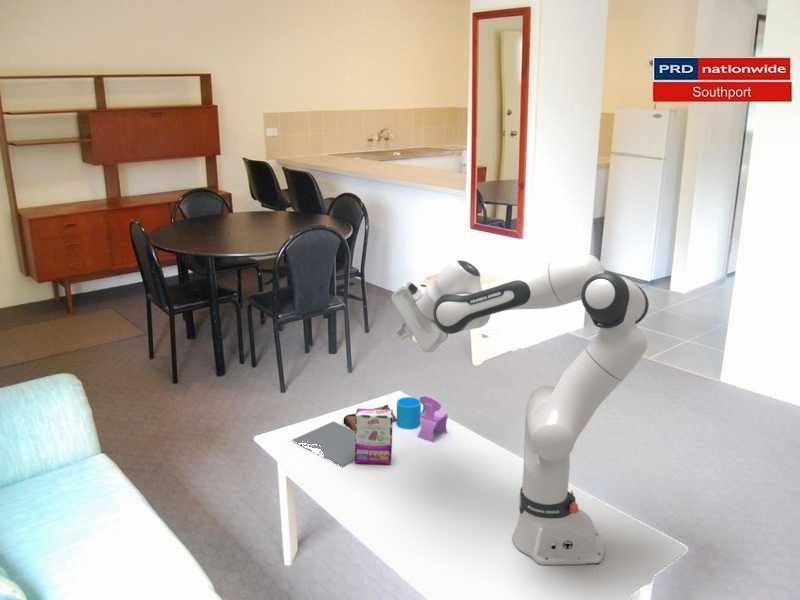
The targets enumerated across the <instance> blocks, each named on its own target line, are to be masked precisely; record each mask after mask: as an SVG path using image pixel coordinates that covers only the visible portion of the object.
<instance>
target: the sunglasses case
mask: <svg viewBox="0 0 800 600" xmlns="http://www.w3.org/2000/svg"><path fill="white" fill-rule="evenodd" d="M373 409H382V410H391V409H390V406H389V405H388V404H385V405H383V406H379V407H376V408H373ZM355 419H356V413H350V414H346V415H345V416H344V418H343V420H342V421H343V422H342V423H343V425H344V424H345V425H344V426H345V427H346V428H348V427H349V429H351V430H353V431H355ZM395 422H396V423H397V416H395V415H394V413H393V423H395Z"/></svg>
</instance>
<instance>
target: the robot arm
mask: <svg viewBox="0 0 800 600" xmlns="http://www.w3.org/2000/svg"><path fill="white" fill-rule="evenodd" d="M604 269H605V268H604V265H602V263H601V261H600V260H599V259H598V258H597V257H596V256H594V255H592V254H588V253H587V254H585V253H584V254H577V255H571V256H566V257H562V258H558V259H556V260H552V261H549V262H545V263H543V264H542V265H540V266H537V267H535V268H533V269H531V270H528V271H527V272H525V273H523V274H521V275H519V276H516V277H515V278H513V279H511V280H508V281H506V282H504V283H502V284H499V285H497V286H494V287H490V288H486V289H484V290H483V288H482V283H481V273H480V271H479V270H478V268H477V267H476V266H474V265H473V264H472V263H470V262H468V261H465V260H455V261H453V262H452V263H450V264H449V265H448V266H447V267H445V268H444V269H443V270H442V271H441V272H440V273H439V274H438V275H437V276H436V277H435V280H434V281H433V282H431V283H430V284H427V283H426V282H425V281H421V280H416V279H415V280H409V281H407V283H406V285H401V286H399V288H397V289H396V290H395V291H394V292H393V293H392V295H391V299H390V300H391V302H392V303H393V305H394V306H395V308H396V310H397V311H398V313H399V314H400V317H402V319H401V321H400V323H399V327H398V329H396V331H395V332H396V333H397V335H398V336H399V338H400V340H405V339H407V337H410V336H413V337H414V339H415V340H416V342H417V344H418V346H420V348H421V350H422V351H423V353H426V354H427V353H431V354H432V353H434V352H435V351H436V350H438V349H439V347H440V346H441V344H442V343H444V342H445V341H446V340H447V339H448V338H449V334H450V335H451V334H452V335H453V334H457V333H460V332H463V331H469V330H474V329H479V328H482V327H484V326H486V325H487V324H488V322H489V321H490V317H491V315H493V314H494V315H495V314H498V313H500V312H501V313H502V312H507V311H511V310H512V311H513V310H540V309H541V310H542V309H543V310H544V309H550V308H551V309H552V308H557V307H560V306H565V305H568V304H572V303H574V302H578V301H581V303H582V305H583V307H584V309H585V311H586V312H587V313H588V315H589V317H590V319H591V321H592V323H593V325H594V326H595V327H596V328H599V331H598V333H597V335H596V336H595V337H594V339H593V340H592V341H590V343H589V344H587V345H586V347H585V348H584V349H583V350H582V351H581V352H580V354H579V355H578V356H576V358H575V359H574V360H573V361H572V362H571V363H570V364H569V365H568V367H566V369H564V371H563V373H562V375H561V377H560V379H559V381H558V382H557V384H556V386H553V385H541V386H539V387H537V388H535V389H534V390H533V391H532V392H531V393H530V396H529V397H528V400H527V403H526V405H525V416H524V420H525V421H524V442H523V443H524V445H523V470H522V471H523V473H522V485H521V487H520V491H519V495H518V496H519V497H518V499H519V500H518V508H519V514H518V518H517V521H516V522H517V523H516V526H515V528H514V532H513V534H512V542H513V544H514V545H515V547H516V548H517V549H518V550H519V551H520V552H522V553H524V554H525V555H527V556H529V557H530V558H532V559H533V560H534V561H535V562H536V563H537V564H538V565H541V566H546V565H547V566H548V565H549V566H552V565H554V566H555V565H557V566H558V565H562V566H563V564H564V565H592V564H591V563H599V562H600V563H601V562H602V561H603V560H604V557H605V544H604V540H603V539H604V538H603V537H602V536H601V535H602V534H600V532H599V531H598V530H597V529H596V528H595V525H594V521H593V520H592V518H591V517H590V515H589V514H588V513H586V512H585V511H583V510H582V509H581V508H579V504H578V503H576V497H575V494H574V492H573V490H570V491H569V480H570V471H571V470H570V468H571V465H570V464H571V463H570V461H571V460H570V457H571V455H570V454H571V453H572V452H573V450H574V447H575V445H576V442H577V440H578V439H579V437H580V435H581V434H582V432H583V431H584V430H585V428H586V426H587V425H588V423H589V422H590V421H591V418H592V417H593V416H594V414H595V413H596V411H597V409H599V407H600V405H601V404H602V403H603V402H604V401H605V400H606V399H607V397H608V396H610V395H611V394H612V393H613V392H614V391H615V390H616V388H617V387H618V386H619V385H620V384H621V383H622V382H623V381H624V380H625V379H626V378H627V377H628V376H629V375H630V374H631V372H632V371H633V370H634V368H635V367H636V366H637V365H638V363H639V362H640V360H641V359H642V357H643V356H644V354H645V353H646V350H647V347H648V341H647V338H646V335H645V334H644V332H643V331H642V330H641V329H640V328H639V327H638V326H637V324H638V323H641V322H642V320H643V319H644V318H645V317H646V315H647V314H648V311H649V306H650V305H649V304H650V303H649V302H650V301H649V298H648V296H647V294H646V293H645V291H644V290H643V289H642V287H640V285H637V284H635V283H634V282H633V281H632V280H630V279H628V278H627V277H624V276H621V275H617V274H616V273H613V272H612V273H611V272H605V270H604ZM406 326H407V328H408V330H407V332H406V330H405V329H406ZM603 556H604V557H603ZM602 559H603V560H602ZM601 560H602V561H601ZM586 563H587V564H586ZM588 563H590V564H588ZM600 563H599V564H600Z"/></svg>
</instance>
